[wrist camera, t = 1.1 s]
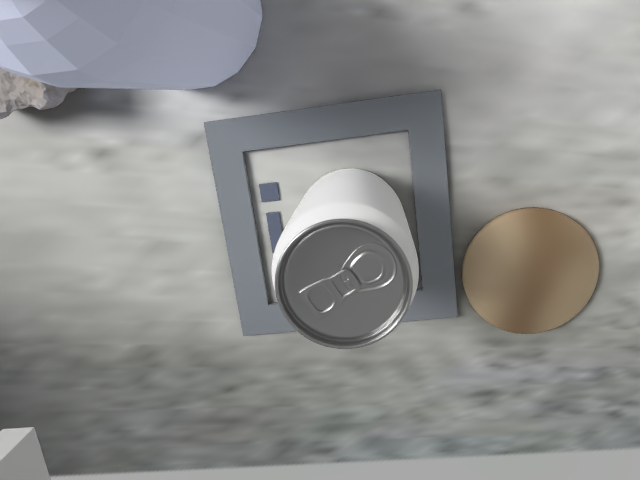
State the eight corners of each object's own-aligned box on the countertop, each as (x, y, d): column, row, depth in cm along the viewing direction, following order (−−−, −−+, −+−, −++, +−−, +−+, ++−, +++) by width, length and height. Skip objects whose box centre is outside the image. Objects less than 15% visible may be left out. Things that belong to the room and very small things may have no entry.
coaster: (466, 334, 34) (467, 338, 34) (457, 215, 32) (459, 217, 32) (595, 323, 33) (599, 327, 33) (594, 200, 31) (599, 202, 31)
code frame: (244, 333, 36) (243, 335, 35) (205, 121, 32) (203, 122, 32) (456, 314, 34) (457, 316, 34) (440, 89, 31) (440, 89, 30)
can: (423, 233, 33) (454, 308, 21) (337, 286, 34) (322, 384, 23) (365, 146, 32) (365, 175, 20) (278, 204, 33) (232, 264, 22)
